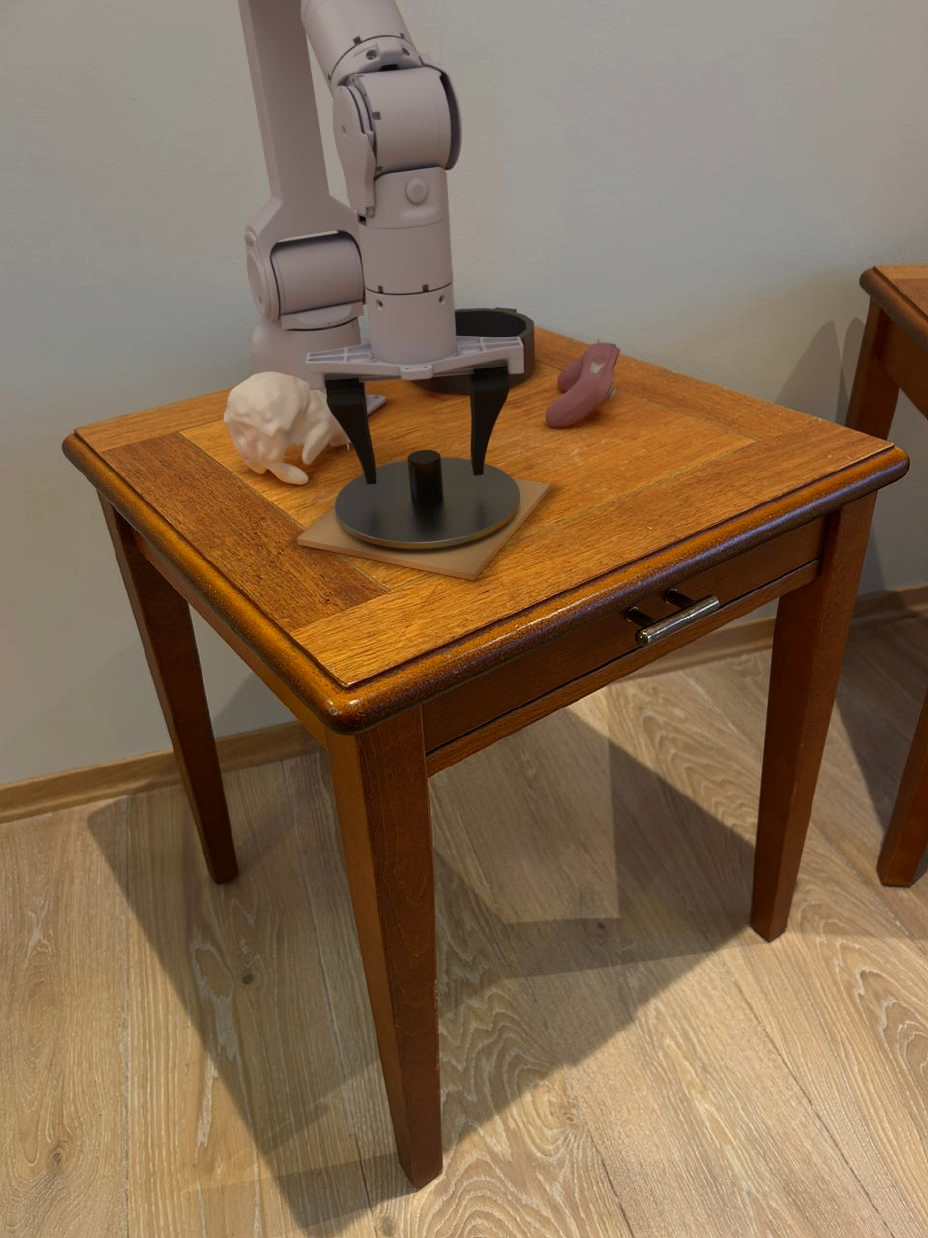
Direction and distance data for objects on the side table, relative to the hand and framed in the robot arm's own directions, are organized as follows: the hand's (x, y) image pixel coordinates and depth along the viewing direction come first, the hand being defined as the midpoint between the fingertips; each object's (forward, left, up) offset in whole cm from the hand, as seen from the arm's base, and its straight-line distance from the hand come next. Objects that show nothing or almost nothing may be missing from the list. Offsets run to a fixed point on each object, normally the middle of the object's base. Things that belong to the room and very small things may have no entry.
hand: (424, 473), depth 70 cm
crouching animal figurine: (-14, +5, -4) cm, 15 cm away
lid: (0, 0, -2) cm, 2 cm away
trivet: (0, 0, -4) cm, 4 cm away
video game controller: (+4, +23, -4) cm, 24 cm away
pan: (-10, +29, -4) cm, 31 cm away
